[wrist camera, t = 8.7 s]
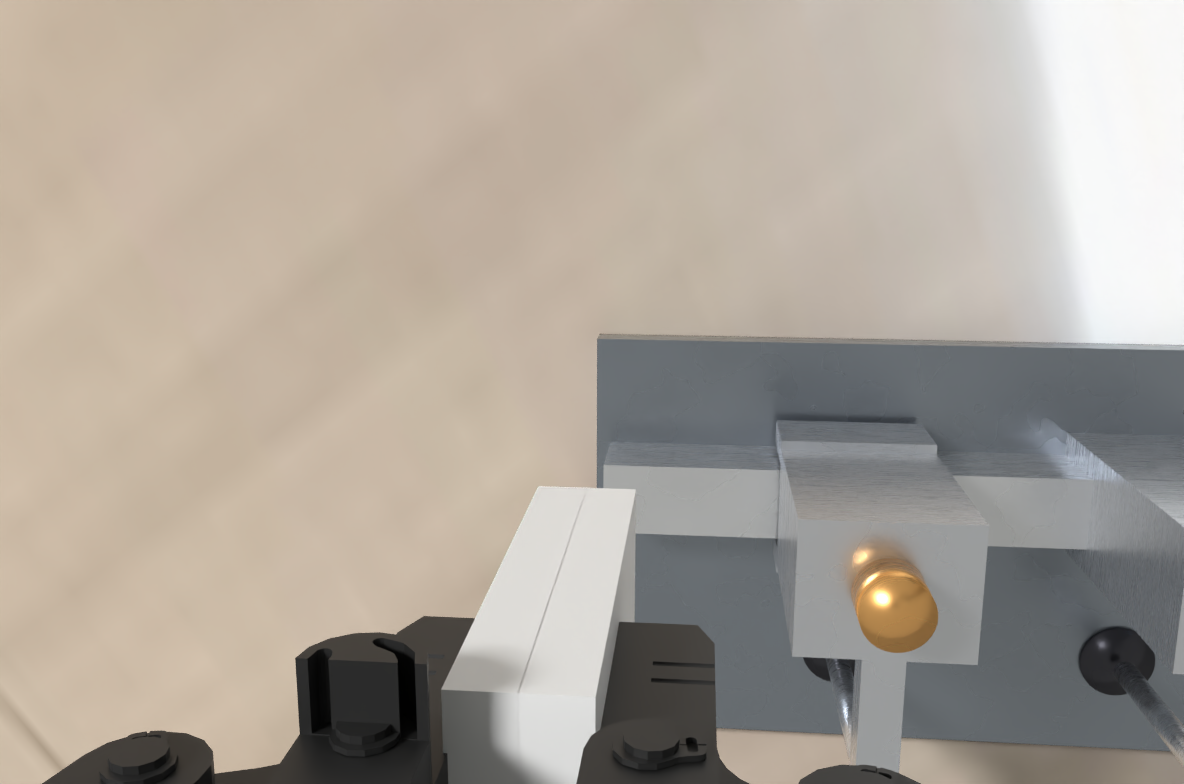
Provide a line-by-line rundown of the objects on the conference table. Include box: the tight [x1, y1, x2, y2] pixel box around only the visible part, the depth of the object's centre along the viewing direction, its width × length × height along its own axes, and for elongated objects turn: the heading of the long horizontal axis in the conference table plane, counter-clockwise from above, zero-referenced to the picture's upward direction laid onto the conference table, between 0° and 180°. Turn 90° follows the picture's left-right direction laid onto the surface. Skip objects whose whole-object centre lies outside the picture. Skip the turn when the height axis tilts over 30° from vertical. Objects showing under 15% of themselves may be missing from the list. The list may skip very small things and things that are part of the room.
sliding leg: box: [771, 420, 989, 773], centre depth 35 cm, size 5×9×11 cm, turn 0°
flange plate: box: [597, 334, 1184, 751], centre depth 40 cm, size 22×15×4 cm
